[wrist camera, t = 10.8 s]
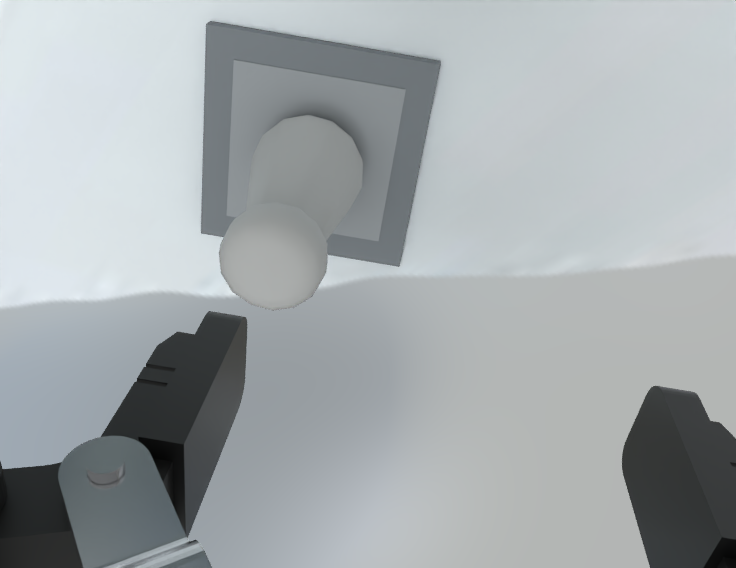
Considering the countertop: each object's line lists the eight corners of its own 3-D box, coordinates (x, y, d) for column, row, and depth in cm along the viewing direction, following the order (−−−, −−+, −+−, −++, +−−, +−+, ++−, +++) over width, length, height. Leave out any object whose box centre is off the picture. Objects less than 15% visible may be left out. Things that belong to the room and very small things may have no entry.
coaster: (440, 61, 35) (440, 65, 34) (399, 260, 42) (399, 267, 41) (210, 21, 35) (205, 24, 34) (204, 227, 41) (200, 234, 41)
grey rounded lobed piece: (337, 220, 39) (303, 356, 28) (246, 174, 38) (173, 298, 27) (385, 134, 37) (367, 248, 25) (288, 82, 36) (226, 179, 24)
